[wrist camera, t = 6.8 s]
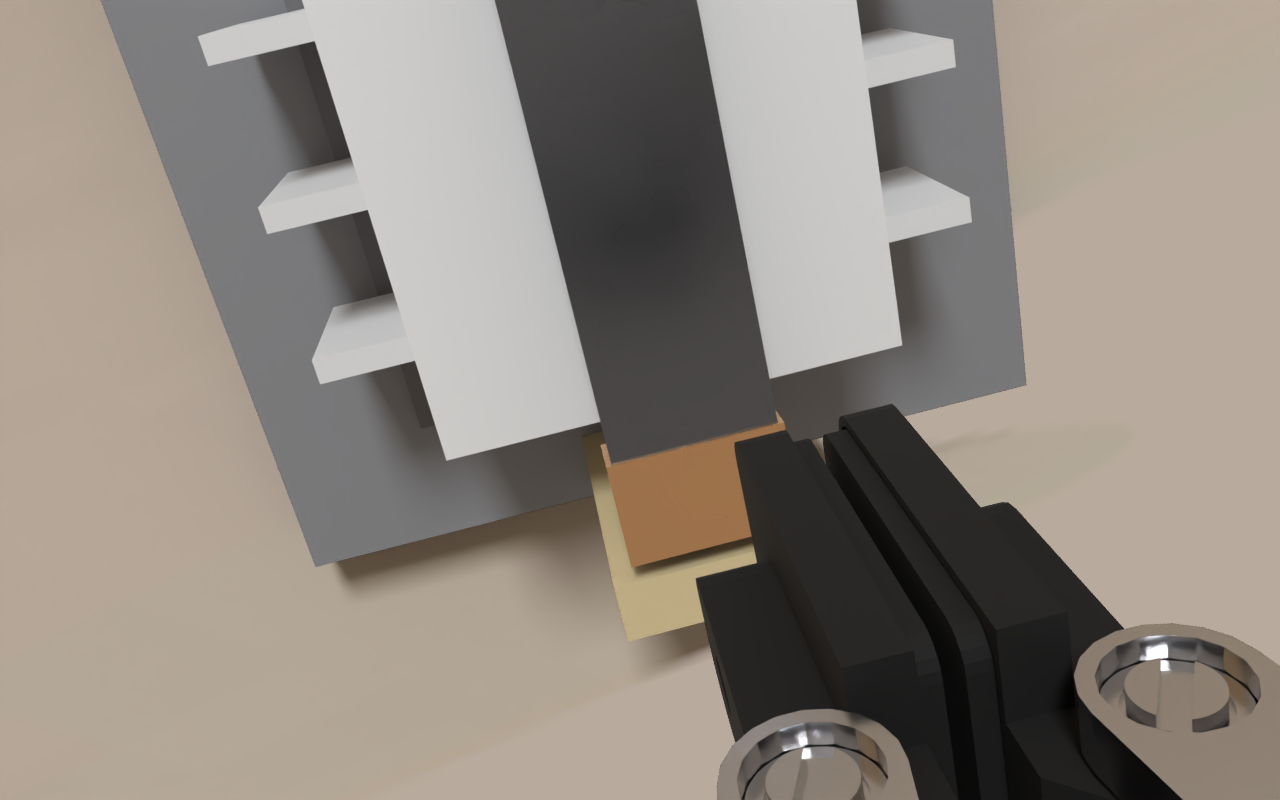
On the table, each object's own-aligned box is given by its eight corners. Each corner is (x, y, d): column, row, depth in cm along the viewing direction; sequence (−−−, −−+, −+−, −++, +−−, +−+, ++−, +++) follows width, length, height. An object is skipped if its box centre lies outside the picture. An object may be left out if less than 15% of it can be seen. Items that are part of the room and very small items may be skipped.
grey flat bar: (365, -430, 16) (351, -475, 15) (610, -484, 16) (621, -534, 15) (612, 537, 22) (621, 576, 20) (795, 490, 22) (817, 526, 20)
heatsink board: (908, -579, 22) (1148, -875, 14) (1000, 364, 30) (1188, 512, 22) (-18, -378, 21) (-307, -572, 13) (323, 537, 29) (265, 755, 21)
